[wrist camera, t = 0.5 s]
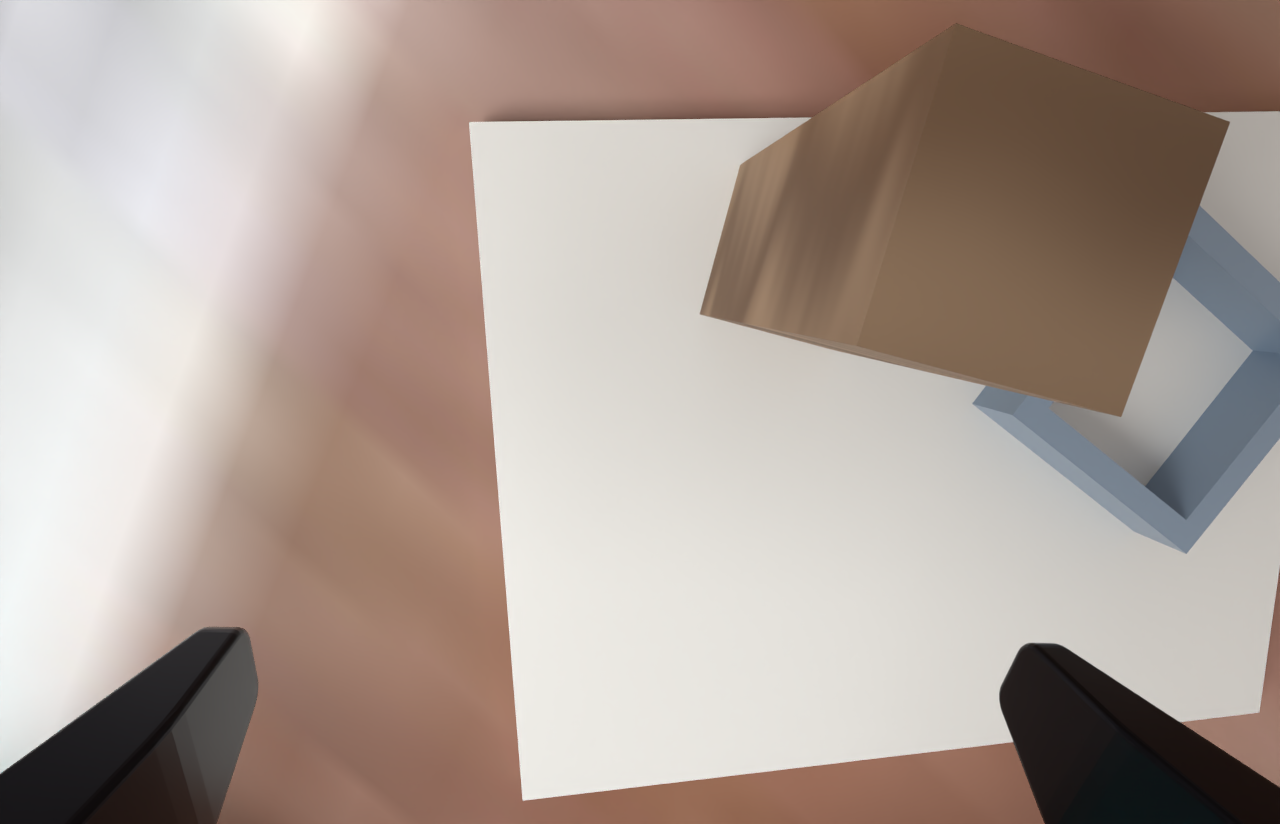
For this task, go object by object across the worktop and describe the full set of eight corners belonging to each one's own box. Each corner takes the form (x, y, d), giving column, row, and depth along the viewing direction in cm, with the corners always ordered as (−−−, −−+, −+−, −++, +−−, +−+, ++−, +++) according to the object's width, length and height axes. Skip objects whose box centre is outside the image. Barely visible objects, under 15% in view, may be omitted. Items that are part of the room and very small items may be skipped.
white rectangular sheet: (1233, 697, 27) (1259, 712, 26) (524, 779, 24) (522, 800, 23) (1309, 118, 23) (1343, 110, 22) (473, 130, 20) (469, 122, 19)
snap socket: (1134, 531, 24) (1186, 553, 22) (972, 403, 22) (1012, 415, 20) (1283, 344, 23) (1350, 350, 21) (1127, 199, 22) (1184, 191, 20)
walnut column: (835, 350, 21) (1120, 417, 11) (699, 314, 21) (856, 345, 10) (879, 207, 21) (1230, 121, 10) (739, 164, 20) (956, 23, 9)
